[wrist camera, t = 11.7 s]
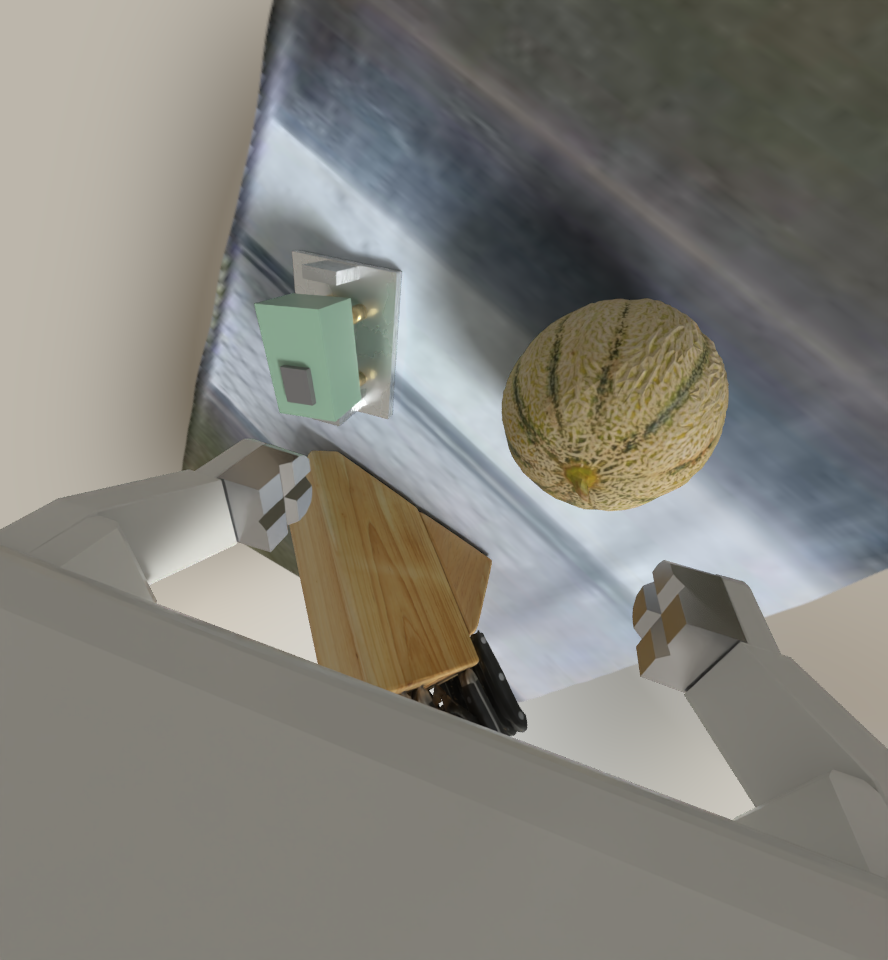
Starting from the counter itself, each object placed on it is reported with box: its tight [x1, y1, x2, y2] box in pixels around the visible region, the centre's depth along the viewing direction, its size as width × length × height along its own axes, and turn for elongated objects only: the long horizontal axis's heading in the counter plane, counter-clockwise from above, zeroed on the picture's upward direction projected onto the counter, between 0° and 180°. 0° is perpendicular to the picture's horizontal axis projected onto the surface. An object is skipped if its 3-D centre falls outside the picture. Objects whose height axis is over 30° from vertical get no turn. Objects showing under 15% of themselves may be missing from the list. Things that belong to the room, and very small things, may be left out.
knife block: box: [290, 450, 527, 736], centre depth 40 cm, size 11×35×31 cm, turn 56°
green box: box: [254, 293, 361, 422], centre depth 33 cm, size 9×6×6 cm, turn 179°
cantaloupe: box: [502, 298, 729, 511], centre depth 28 cm, size 15×15×15 cm
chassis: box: [292, 250, 402, 426], centre depth 37 cm, size 14×10×5 cm
